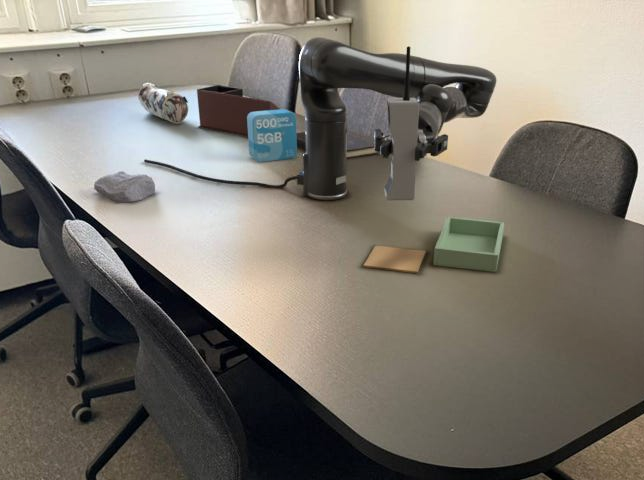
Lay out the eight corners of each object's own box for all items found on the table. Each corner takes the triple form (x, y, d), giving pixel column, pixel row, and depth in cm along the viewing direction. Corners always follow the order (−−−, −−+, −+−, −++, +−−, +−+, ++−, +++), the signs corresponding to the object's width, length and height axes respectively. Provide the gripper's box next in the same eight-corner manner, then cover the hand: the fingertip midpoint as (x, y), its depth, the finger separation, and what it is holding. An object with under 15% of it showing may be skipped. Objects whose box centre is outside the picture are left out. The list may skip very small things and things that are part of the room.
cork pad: (363, 267, 129) (363, 265, 129) (375, 247, 138) (375, 245, 137) (417, 273, 127) (417, 271, 127) (426, 252, 136) (426, 250, 136)
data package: (255, 162, 185) (252, 115, 179) (249, 158, 188) (246, 111, 182) (297, 158, 190) (296, 111, 184) (291, 153, 193) (289, 108, 187)
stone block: (132, 211, 156) (160, 190, 163) (125, 192, 153) (154, 171, 160) (92, 204, 161) (120, 184, 167) (84, 185, 157) (113, 165, 164)
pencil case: (191, 122, 221) (188, 89, 216) (166, 126, 217) (162, 92, 212) (162, 109, 236) (159, 78, 231) (138, 112, 232) (134, 81, 226)
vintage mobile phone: (384, 194, 128) (388, 44, 115) (411, 193, 128) (418, 44, 115) (386, 200, 125) (390, 47, 112) (414, 200, 125) (422, 48, 112)
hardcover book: (333, 135, 211) (333, 127, 210) (378, 153, 195) (378, 145, 194) (286, 142, 203) (286, 134, 202) (329, 161, 188) (329, 153, 186)
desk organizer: (221, 121, 223) (218, 84, 218) (295, 135, 210) (294, 96, 205) (197, 127, 216) (193, 89, 210) (272, 142, 203) (271, 101, 197)
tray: (433, 264, 131) (434, 248, 129) (446, 231, 146) (447, 216, 144) (496, 272, 129) (498, 255, 127) (502, 237, 144) (504, 222, 142)
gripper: (453, 152, 135) (440, 179, 120) (380, 146, 137) (359, 171, 123) (456, 112, 131) (444, 134, 117) (381, 106, 133) (360, 127, 119)
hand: (400, 153), depth 120 cm, fingers closed on vintage mobile phone, 5 cm apart
